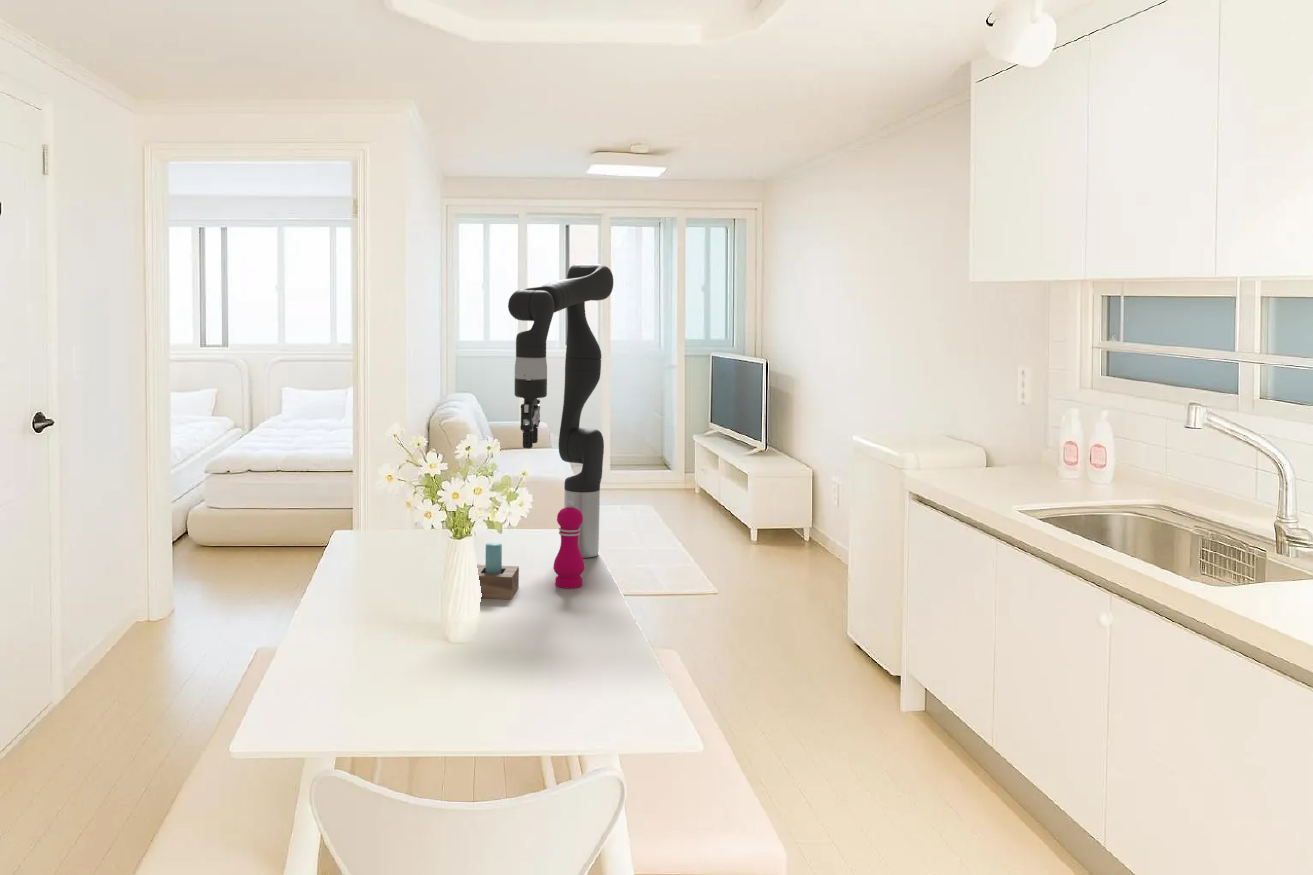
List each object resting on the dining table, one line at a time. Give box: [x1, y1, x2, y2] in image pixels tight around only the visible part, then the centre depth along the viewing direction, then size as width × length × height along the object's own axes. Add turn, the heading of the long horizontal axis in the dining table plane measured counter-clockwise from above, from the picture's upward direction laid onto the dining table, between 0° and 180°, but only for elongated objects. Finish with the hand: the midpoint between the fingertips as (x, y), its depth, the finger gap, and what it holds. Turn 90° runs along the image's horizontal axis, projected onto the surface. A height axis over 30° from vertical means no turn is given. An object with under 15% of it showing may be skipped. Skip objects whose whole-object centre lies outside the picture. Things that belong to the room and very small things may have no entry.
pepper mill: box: [553, 501, 586, 589], centre depth 255 cm, size 7×7×20 cm
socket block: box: [476, 564, 520, 600], centre depth 247 cm, size 10×10×5 cm
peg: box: [484, 542, 503, 574], centre depth 247 cm, size 4×4×10 cm
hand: (530, 445), depth 257 cm, fingers open, 8 cm apart
